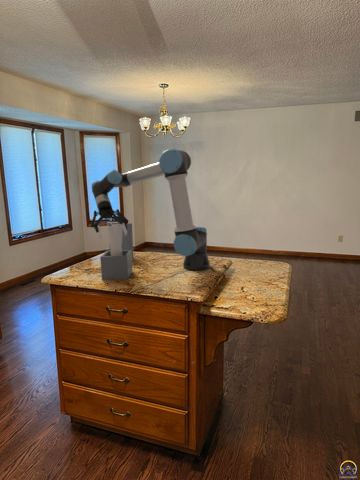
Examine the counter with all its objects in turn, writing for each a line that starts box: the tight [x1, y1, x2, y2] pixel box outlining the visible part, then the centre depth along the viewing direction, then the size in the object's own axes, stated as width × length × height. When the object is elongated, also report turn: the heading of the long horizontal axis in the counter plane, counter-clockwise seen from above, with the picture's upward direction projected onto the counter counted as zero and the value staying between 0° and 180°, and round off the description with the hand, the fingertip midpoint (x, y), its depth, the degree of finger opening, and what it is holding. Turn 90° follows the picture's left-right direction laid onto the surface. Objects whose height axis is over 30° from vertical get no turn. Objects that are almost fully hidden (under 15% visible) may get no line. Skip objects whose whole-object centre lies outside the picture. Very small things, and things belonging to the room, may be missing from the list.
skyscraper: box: [106, 221, 123, 256], centre depth 167 cm, size 8×8×28 cm
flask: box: [107, 221, 134, 259], centre depth 207 cm, size 17×5×25 cm, turn 65°
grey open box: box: [99, 250, 134, 281], centre depth 168 cm, size 13×13×12 cm
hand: (113, 235), depth 167 cm, fingers open, 13 cm apart
